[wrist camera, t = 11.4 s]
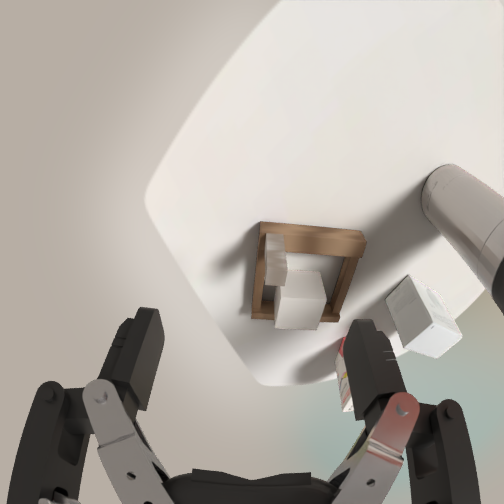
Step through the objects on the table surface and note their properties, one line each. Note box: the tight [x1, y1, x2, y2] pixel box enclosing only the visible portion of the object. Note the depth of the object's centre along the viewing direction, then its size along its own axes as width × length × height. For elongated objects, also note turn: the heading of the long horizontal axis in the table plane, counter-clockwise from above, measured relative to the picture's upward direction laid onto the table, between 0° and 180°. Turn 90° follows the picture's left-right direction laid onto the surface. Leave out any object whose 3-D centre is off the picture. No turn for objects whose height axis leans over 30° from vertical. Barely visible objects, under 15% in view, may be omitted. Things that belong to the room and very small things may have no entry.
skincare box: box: [385, 275, 463, 359], centre depth 39 cm, size 10×6×10 cm, turn 62°
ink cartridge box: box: [335, 337, 354, 412], centre depth 45 cm, size 9×5×15 cm, turn 1°
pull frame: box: [251, 221, 367, 322], centre depth 36 cm, size 13×15×10 cm
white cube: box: [274, 269, 327, 330], centre depth 40 cm, size 6×6×6 cm
